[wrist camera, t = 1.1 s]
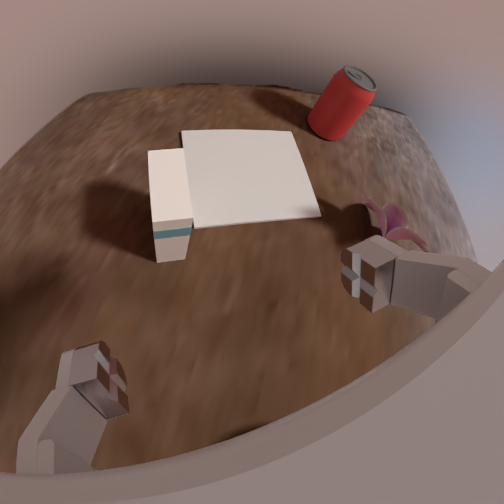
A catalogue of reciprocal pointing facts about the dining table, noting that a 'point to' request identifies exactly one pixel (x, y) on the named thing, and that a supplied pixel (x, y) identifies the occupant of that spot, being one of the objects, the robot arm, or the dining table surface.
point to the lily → (394, 222)
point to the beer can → (342, 103)
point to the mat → (246, 177)
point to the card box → (169, 203)
